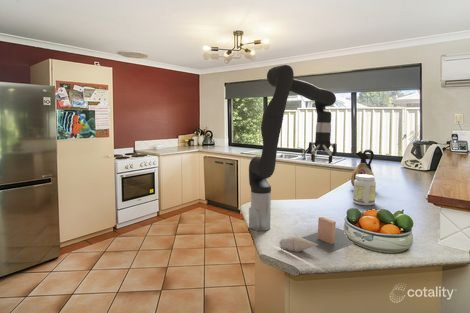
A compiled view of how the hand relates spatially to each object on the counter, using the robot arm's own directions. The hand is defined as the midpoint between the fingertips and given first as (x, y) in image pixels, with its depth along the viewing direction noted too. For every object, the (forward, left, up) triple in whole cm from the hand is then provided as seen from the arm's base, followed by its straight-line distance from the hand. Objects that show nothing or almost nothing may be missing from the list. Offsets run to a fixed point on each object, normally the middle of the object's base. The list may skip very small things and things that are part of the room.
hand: (321, 162), depth 153 cm
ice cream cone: (-43, -26, -28) cm, 57 cm away
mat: (-23, -26, -28) cm, 44 cm away
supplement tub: (+39, -1, -28) cm, 49 cm away
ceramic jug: (+67, +17, -28) cm, 75 cm away
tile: (-27, -26, -27) cm, 46 cm away
